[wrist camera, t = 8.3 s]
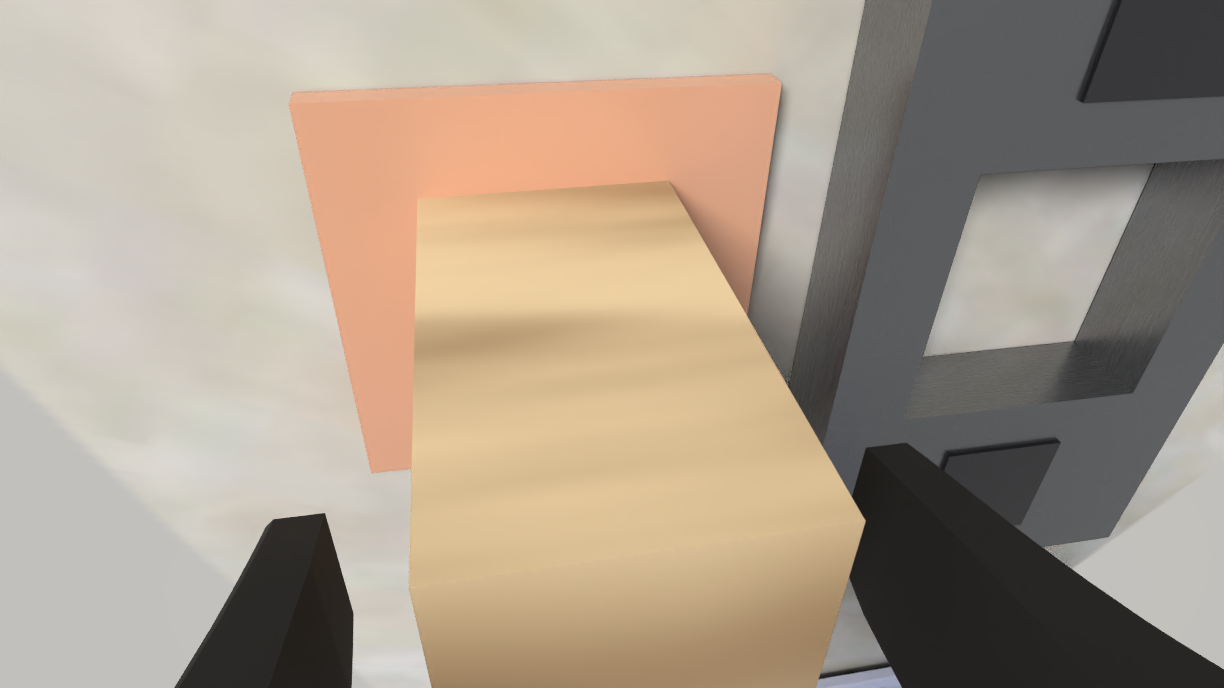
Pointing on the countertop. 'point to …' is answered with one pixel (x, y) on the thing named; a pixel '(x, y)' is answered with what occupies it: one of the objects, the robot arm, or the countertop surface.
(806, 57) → the countertop surface
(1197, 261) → the square hole bar
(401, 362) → the tile
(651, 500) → the wooden peg
